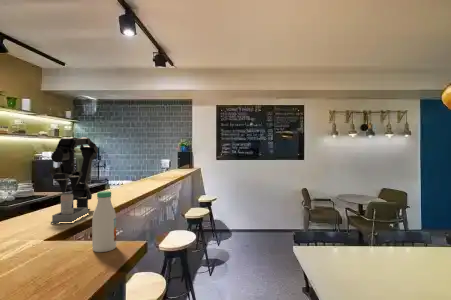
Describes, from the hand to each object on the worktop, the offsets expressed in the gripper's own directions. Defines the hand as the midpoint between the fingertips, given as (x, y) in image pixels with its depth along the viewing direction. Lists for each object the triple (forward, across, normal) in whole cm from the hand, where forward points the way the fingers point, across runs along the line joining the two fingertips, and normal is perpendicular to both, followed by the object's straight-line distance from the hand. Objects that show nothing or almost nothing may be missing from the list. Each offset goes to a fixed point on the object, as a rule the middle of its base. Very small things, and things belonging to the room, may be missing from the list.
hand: (68, 191), depth 148 cm
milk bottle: (+13, +49, +38) cm, 63 cm away
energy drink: (+12, +10, +4) cm, 16 cm away
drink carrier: (+13, +6, +4) cm, 15 cm away
